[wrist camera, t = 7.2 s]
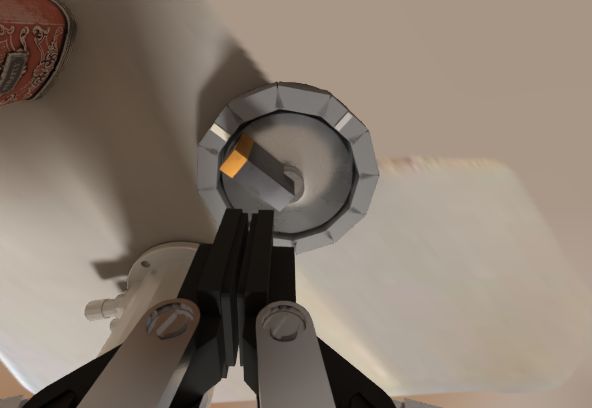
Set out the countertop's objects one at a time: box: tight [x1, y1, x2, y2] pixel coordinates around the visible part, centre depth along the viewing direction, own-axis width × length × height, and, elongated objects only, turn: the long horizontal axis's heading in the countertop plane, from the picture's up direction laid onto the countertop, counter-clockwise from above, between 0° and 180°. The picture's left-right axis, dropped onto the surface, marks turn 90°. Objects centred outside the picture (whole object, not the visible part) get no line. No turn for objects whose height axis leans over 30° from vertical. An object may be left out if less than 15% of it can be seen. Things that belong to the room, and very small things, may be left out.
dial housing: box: [197, 82, 379, 255], centre depth 25 cm, size 14×14×3 cm
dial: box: [220, 111, 352, 233], centre depth 23 cm, size 10×10×5 cm
